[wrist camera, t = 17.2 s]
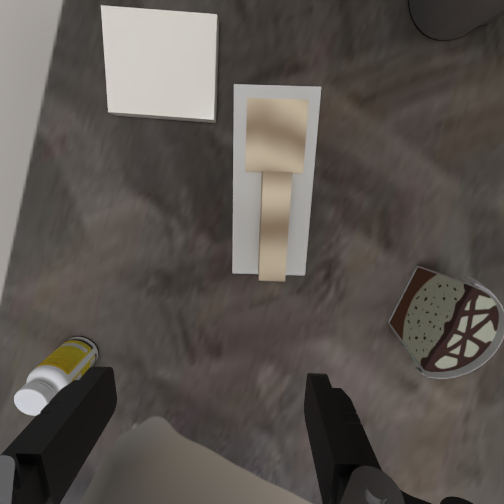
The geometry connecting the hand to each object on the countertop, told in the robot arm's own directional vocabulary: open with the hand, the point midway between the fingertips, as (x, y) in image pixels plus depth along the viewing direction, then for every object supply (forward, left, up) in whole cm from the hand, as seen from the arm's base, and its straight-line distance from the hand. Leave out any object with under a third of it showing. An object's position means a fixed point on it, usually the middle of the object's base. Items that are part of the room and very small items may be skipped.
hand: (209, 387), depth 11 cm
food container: (-26, +8, -26) cm, 38 cm away
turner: (-4, -7, -25) cm, 27 cm away
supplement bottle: (+24, +18, -26) cm, 40 cm away
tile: (+9, -15, -25) cm, 31 cm away
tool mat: (-4, -7, -26) cm, 27 cm away
